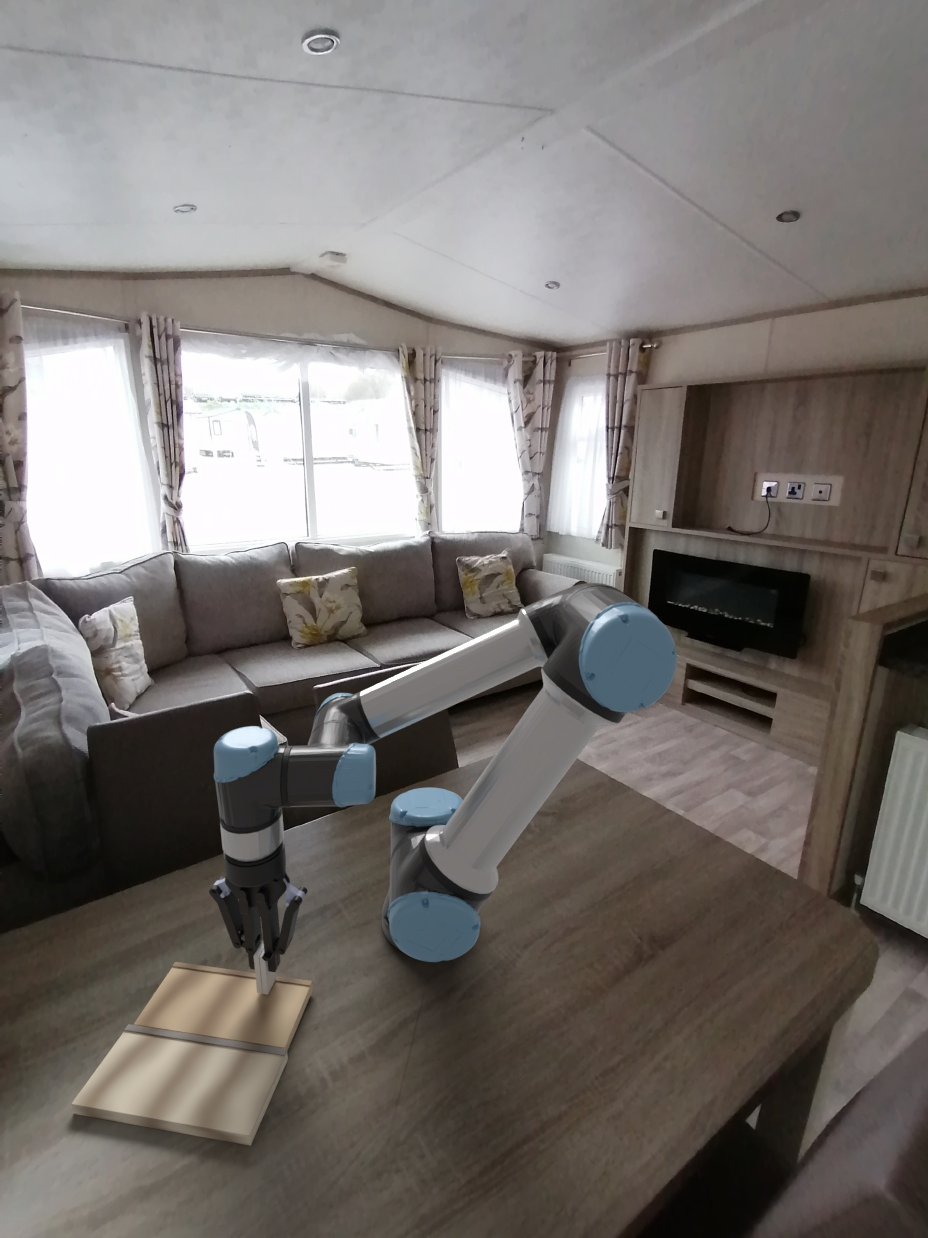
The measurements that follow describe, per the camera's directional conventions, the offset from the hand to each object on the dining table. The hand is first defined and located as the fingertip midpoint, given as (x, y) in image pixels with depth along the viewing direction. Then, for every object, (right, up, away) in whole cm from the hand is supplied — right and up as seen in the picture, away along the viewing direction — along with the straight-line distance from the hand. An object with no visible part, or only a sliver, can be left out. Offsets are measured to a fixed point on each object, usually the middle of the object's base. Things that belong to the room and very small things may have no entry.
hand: (266, 985), depth 86 cm
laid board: (-6, -6, -11) cm, 14 cm away
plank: (-5, -3, -1) cm, 6 cm away
